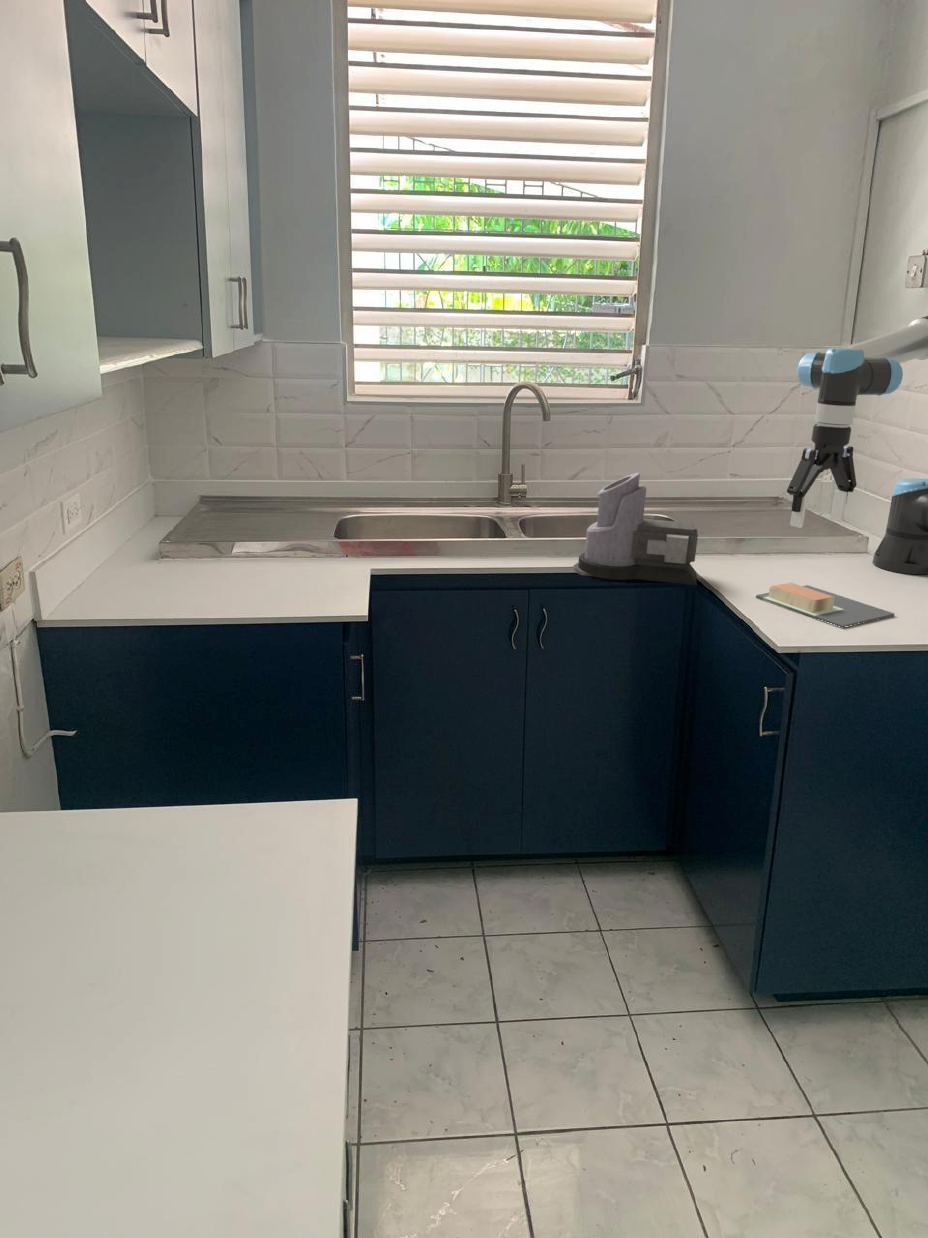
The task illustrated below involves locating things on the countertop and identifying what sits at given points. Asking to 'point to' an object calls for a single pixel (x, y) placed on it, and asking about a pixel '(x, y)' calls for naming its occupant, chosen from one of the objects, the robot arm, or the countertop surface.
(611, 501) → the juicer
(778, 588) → the kitchen sponge
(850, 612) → the mat
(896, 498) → the robot arm
